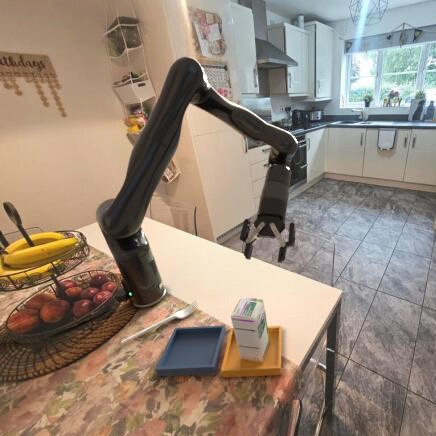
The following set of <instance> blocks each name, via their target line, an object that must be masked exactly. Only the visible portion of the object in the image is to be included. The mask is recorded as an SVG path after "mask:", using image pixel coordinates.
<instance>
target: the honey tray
mask: <svg viewBox="0 0 436 436" xmlns="http://www.w3.org/2000/svg"><path fill="white" fill-rule="evenodd" d="M267 327H268V334H269V341H270V342H269V345H268V349H267V352H266V355H265V357H264V360H263V363H261V362H255V361H249V360H244V359H241V358H240V354H239V350H238V346H237V341H236V337H235V333H234V329H233V327H231V328H230V330H229V334H228V338H227V344H226V347H225V351H224V356H223V360H222V364H221V368H220V373H221V374H220V375H221V377H222V379H223V378H242V377H263V376H281V375H282V352H283V351H282V346H283V345H282V344H283V343H282V341H283V338H282V337H283V331H282V325H276V326H275V325H271V326H268V325H267Z"/></svg>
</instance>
